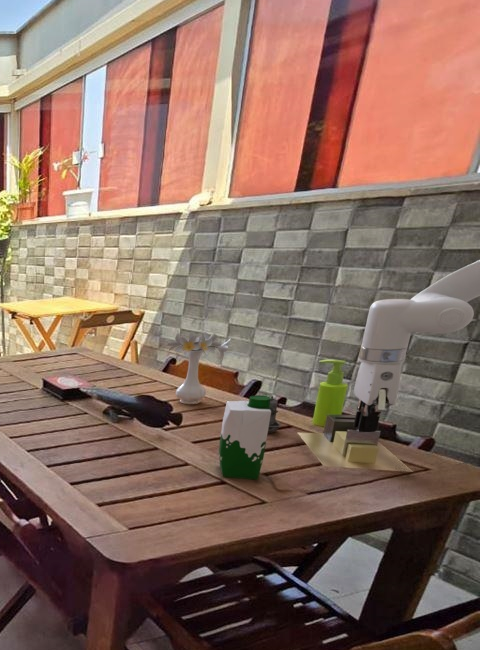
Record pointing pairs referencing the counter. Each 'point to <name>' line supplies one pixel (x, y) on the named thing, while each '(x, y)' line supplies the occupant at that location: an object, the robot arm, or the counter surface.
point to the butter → (339, 441)
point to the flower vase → (195, 363)
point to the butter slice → (361, 453)
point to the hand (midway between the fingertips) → (364, 428)
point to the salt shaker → (273, 416)
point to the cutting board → (334, 459)
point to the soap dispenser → (330, 394)
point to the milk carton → (244, 437)
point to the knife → (360, 436)
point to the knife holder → (339, 425)
